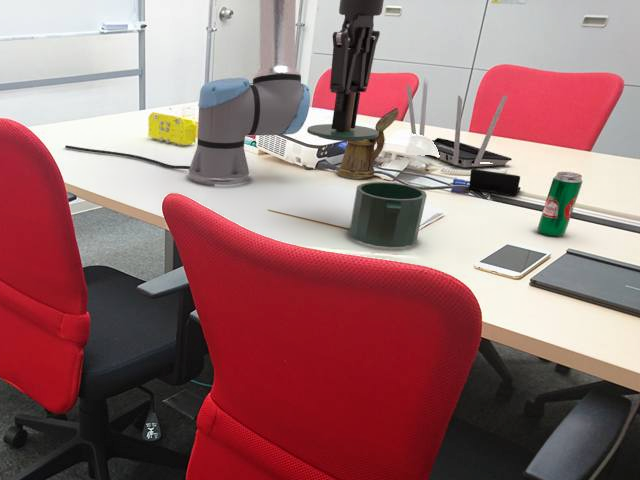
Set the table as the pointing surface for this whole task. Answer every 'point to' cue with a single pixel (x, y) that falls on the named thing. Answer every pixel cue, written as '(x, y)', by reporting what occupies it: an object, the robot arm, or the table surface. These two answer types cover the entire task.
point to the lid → (347, 135)
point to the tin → (387, 214)
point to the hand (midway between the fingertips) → (343, 128)
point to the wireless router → (456, 150)
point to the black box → (494, 182)
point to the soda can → (560, 204)
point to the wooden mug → (365, 151)
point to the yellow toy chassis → (171, 129)
